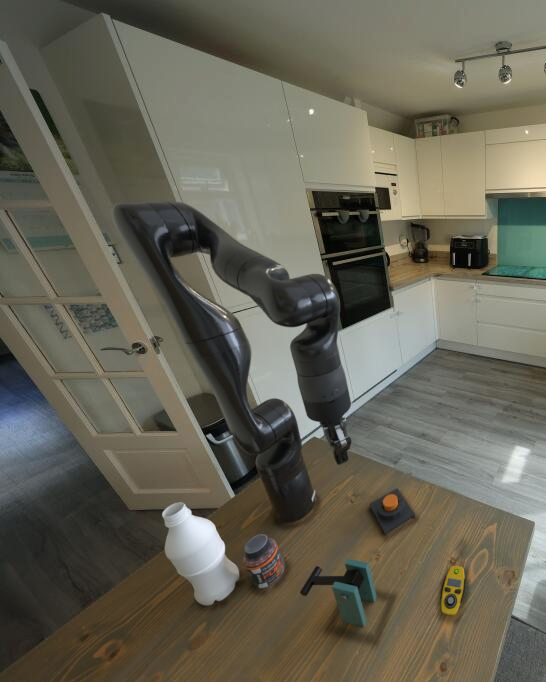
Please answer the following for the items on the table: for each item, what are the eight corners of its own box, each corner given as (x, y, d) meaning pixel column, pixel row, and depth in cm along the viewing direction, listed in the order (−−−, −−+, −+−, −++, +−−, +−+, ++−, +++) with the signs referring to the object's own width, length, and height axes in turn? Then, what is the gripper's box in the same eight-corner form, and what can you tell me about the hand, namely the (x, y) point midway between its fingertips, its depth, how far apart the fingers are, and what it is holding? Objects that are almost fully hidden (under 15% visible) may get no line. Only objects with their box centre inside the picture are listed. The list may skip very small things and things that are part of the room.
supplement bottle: (271, 595, 65) (255, 562, 60) (247, 588, 66) (229, 555, 61) (292, 565, 70) (279, 532, 65) (270, 559, 71) (255, 526, 66)
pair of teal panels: (328, 628, 60) (313, 590, 54) (348, 587, 66) (337, 550, 60) (376, 641, 58) (366, 603, 53) (392, 598, 64) (385, 560, 59)
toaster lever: (303, 597, 59) (297, 589, 58) (319, 572, 63) (313, 564, 62) (354, 598, 55) (348, 590, 54) (367, 571, 59) (361, 563, 58)
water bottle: (195, 618, 61) (137, 536, 50) (204, 582, 67) (154, 501, 56) (239, 598, 64) (193, 517, 53) (245, 565, 70) (204, 486, 59)
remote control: (436, 611, 61) (452, 536, 74) (436, 616, 61) (453, 541, 75) (460, 616, 60) (472, 539, 73) (460, 621, 61) (472, 544, 74)
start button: (381, 504, 80) (380, 499, 79) (394, 496, 82) (393, 491, 81) (387, 514, 77) (386, 509, 77) (400, 505, 79) (399, 501, 79)
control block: (370, 509, 82) (368, 499, 81) (398, 493, 87) (396, 483, 85) (386, 538, 75) (384, 528, 74) (415, 519, 80) (414, 508, 78)
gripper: (293, 380, 58) (313, 450, 65) (311, 415, 49) (332, 492, 56) (335, 367, 62) (350, 435, 69) (358, 397, 53) (372, 471, 60)
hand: (342, 460), depth 63 cm, fingers closed
